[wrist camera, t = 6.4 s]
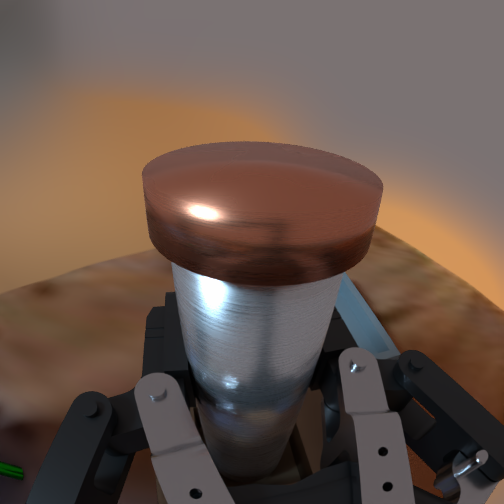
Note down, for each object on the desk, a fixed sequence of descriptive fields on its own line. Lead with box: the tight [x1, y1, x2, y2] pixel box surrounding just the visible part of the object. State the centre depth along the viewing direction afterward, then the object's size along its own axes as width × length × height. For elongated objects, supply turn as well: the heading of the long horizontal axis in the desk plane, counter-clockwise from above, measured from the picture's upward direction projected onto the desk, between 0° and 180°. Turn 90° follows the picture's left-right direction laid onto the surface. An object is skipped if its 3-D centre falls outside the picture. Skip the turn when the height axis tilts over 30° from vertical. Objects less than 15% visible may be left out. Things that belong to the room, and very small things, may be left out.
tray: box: [335, 272, 401, 360], centre depth 27 cm, size 13×13×2 cm
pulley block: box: [156, 388, 323, 504], centre depth 15 cm, size 12×10×6 cm
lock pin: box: [142, 142, 383, 482], centre depth 10 cm, size 5×5×15 cm
